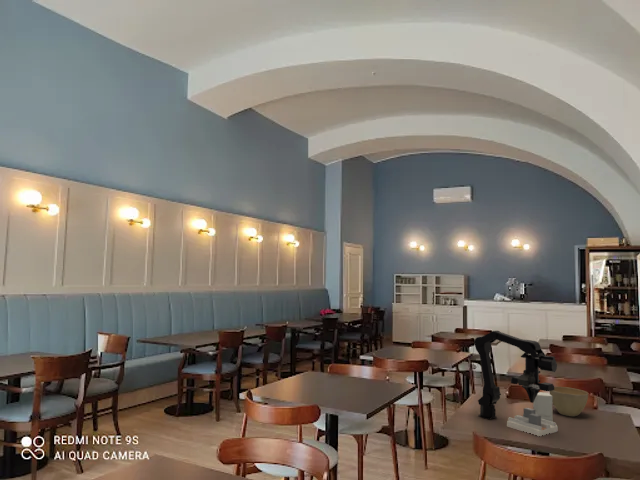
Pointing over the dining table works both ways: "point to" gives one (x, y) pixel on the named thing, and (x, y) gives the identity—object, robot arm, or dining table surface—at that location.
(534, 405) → the supplement box
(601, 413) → the dining table surface
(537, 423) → the switch tab
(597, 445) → the dining table surface
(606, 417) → the dining table surface
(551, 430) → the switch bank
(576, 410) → the olive green bowl
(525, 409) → the switch tab
